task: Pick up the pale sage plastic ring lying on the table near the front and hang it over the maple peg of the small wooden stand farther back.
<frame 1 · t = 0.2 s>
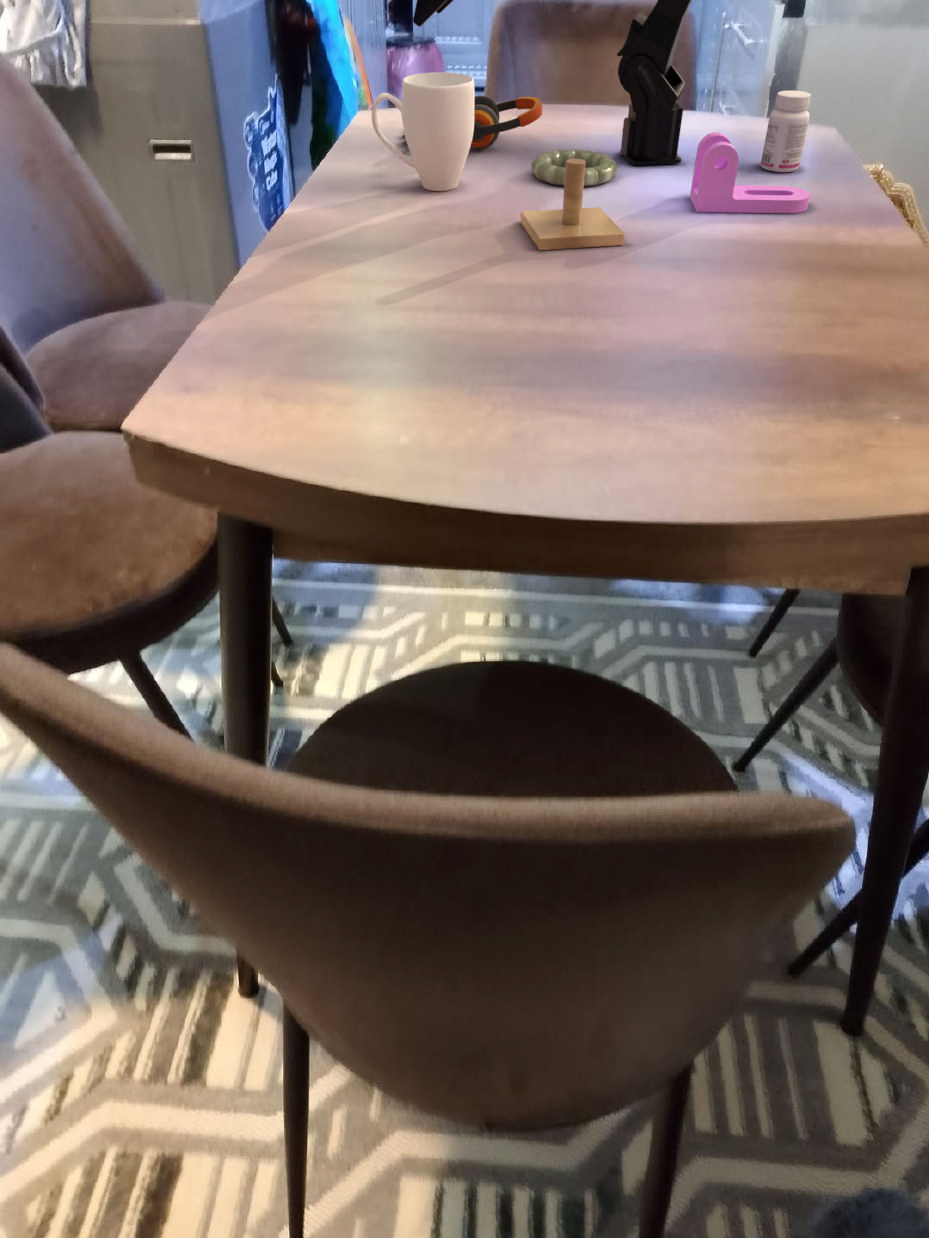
hand: (426, 17, 117), 15 cm above the table, tool tilted 30°, fingers open, 9 cm apart
mug: (425, 188, 111), on the table
pill bottle: (778, 169, 117), on the table
ring: (574, 167, 113), point 1 cm above the table
bracket: (749, 207, 105), on the table
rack: (570, 233, 98), on the table
headphones: (470, 145, 126), on the table
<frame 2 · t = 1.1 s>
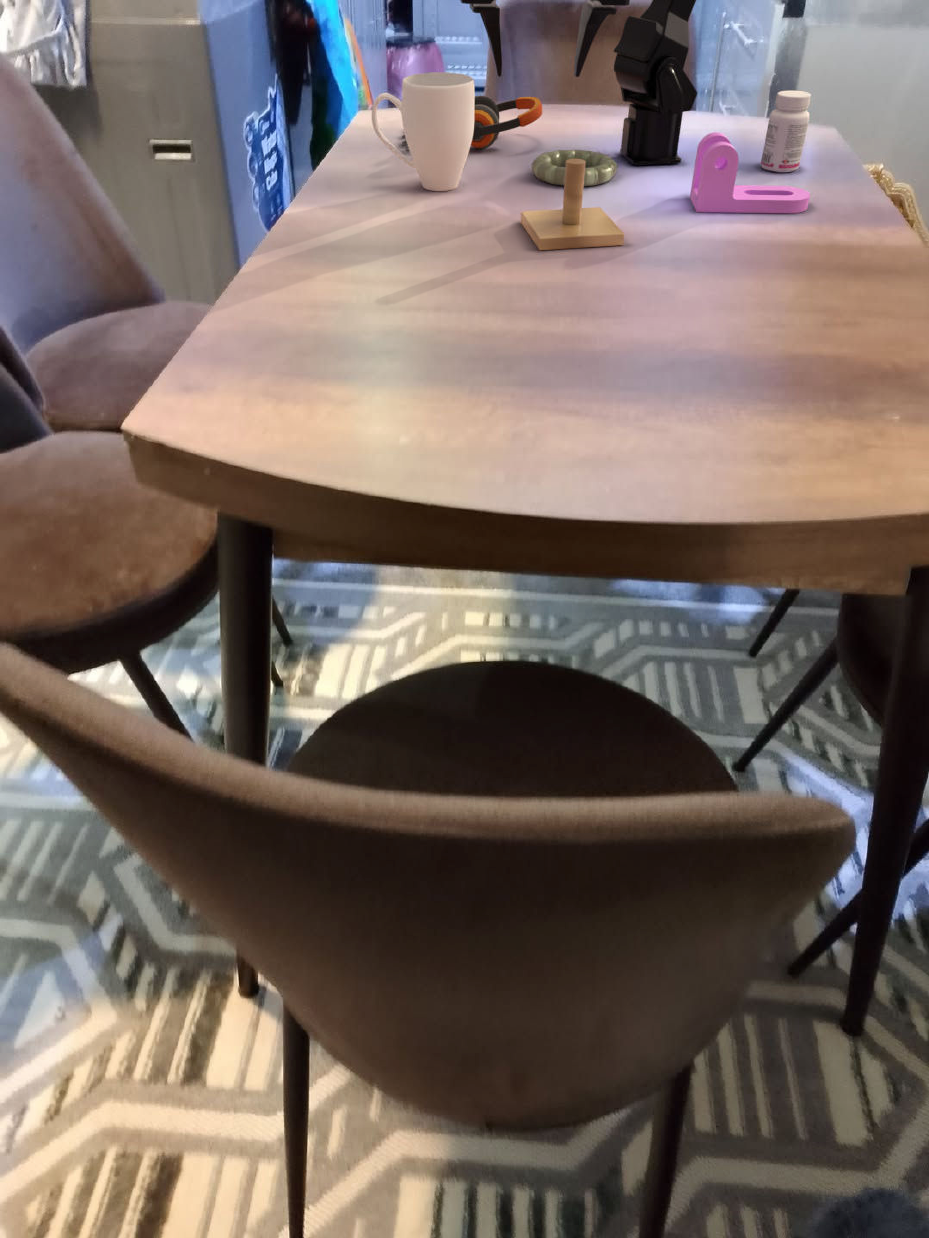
hand: (538, 76, 107), 11 cm above the table, tool pointing down, fingers open, 9 cm apart
nothing on the table moved.
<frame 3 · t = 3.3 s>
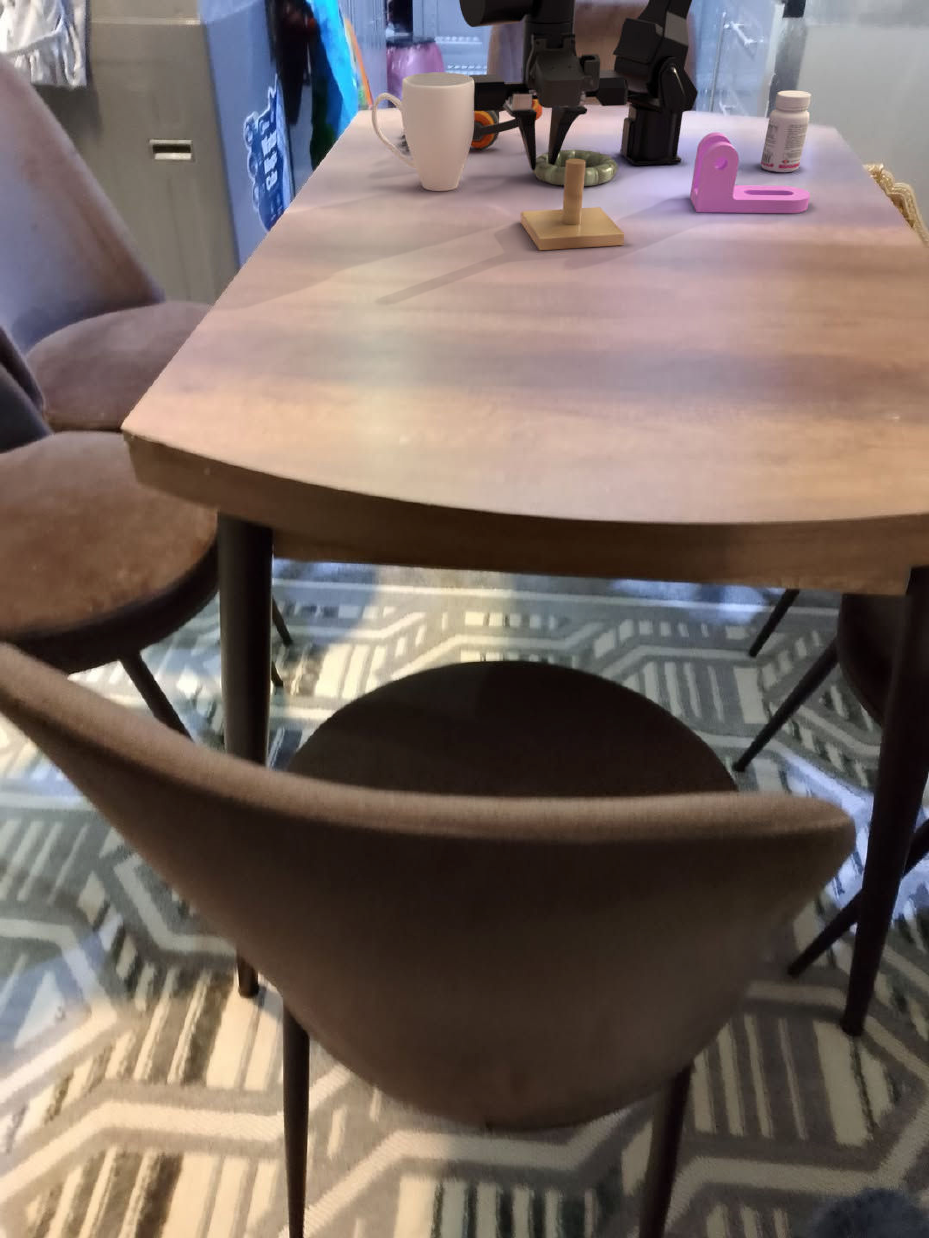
hand: (541, 169, 113), 1 cm above the table, tool pointing down, fingers closed on ring, 2 cm apart
ring: (574, 167, 113), point 1 cm above the table, touching gripper
everything else where it was.
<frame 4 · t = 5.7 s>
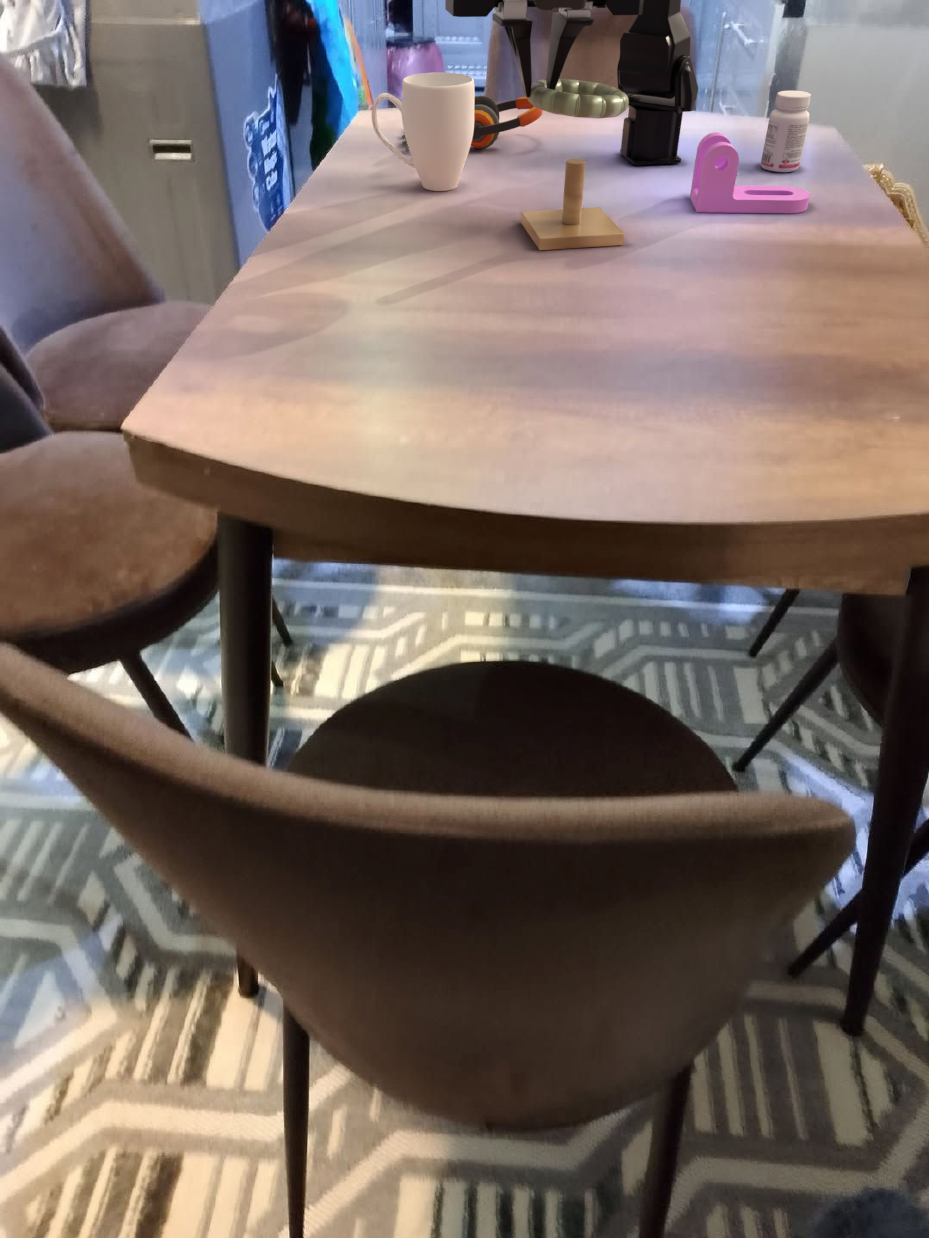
hand: (538, 96, 94), 12 cm above the table, tool pointing down, fingers closed on ring
ring: (577, 98, 95), point 12 cm above the table, touching gripper
everything else where it was.
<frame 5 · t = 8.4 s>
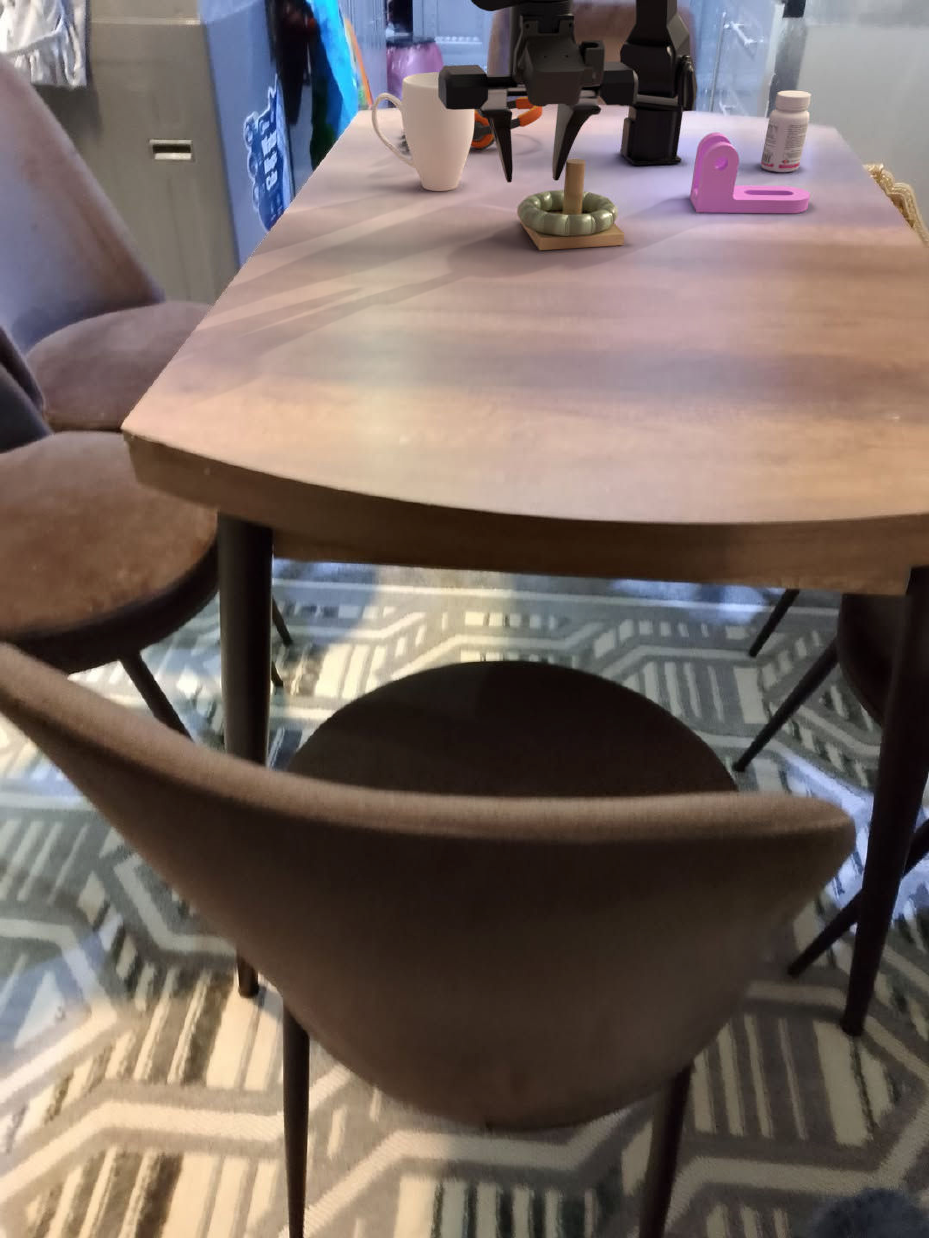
hand: (532, 180, 94), 6 cm above the table, tool pointing down, fingers open, 5 cm apart
ring: (567, 212, 96), point 2 cm above the table, touching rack
everything else where it was.
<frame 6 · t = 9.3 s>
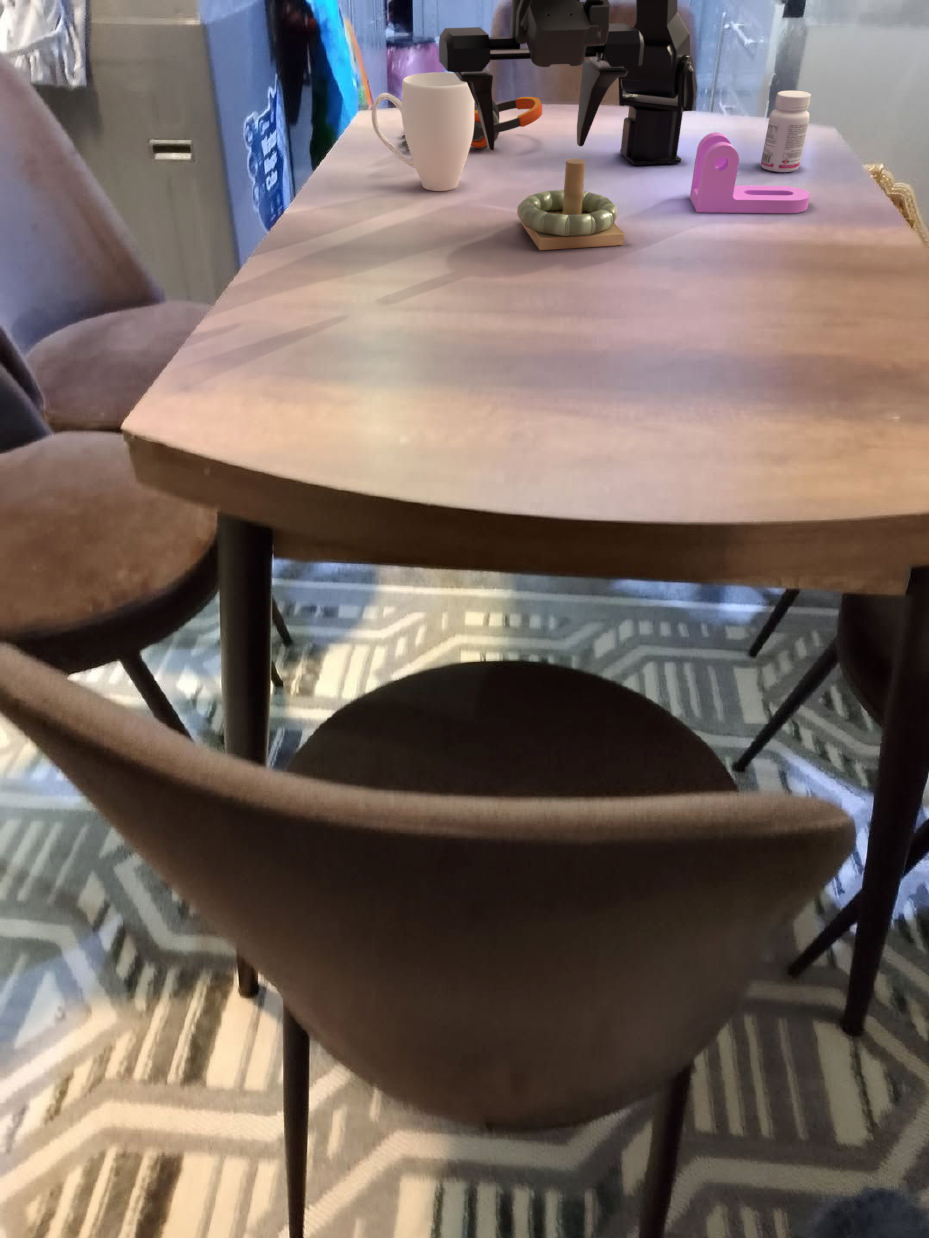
hand: (535, 147, 91), 9 cm above the table, tool pointing down, fingers open, 9 cm apart
nothing on the table moved.
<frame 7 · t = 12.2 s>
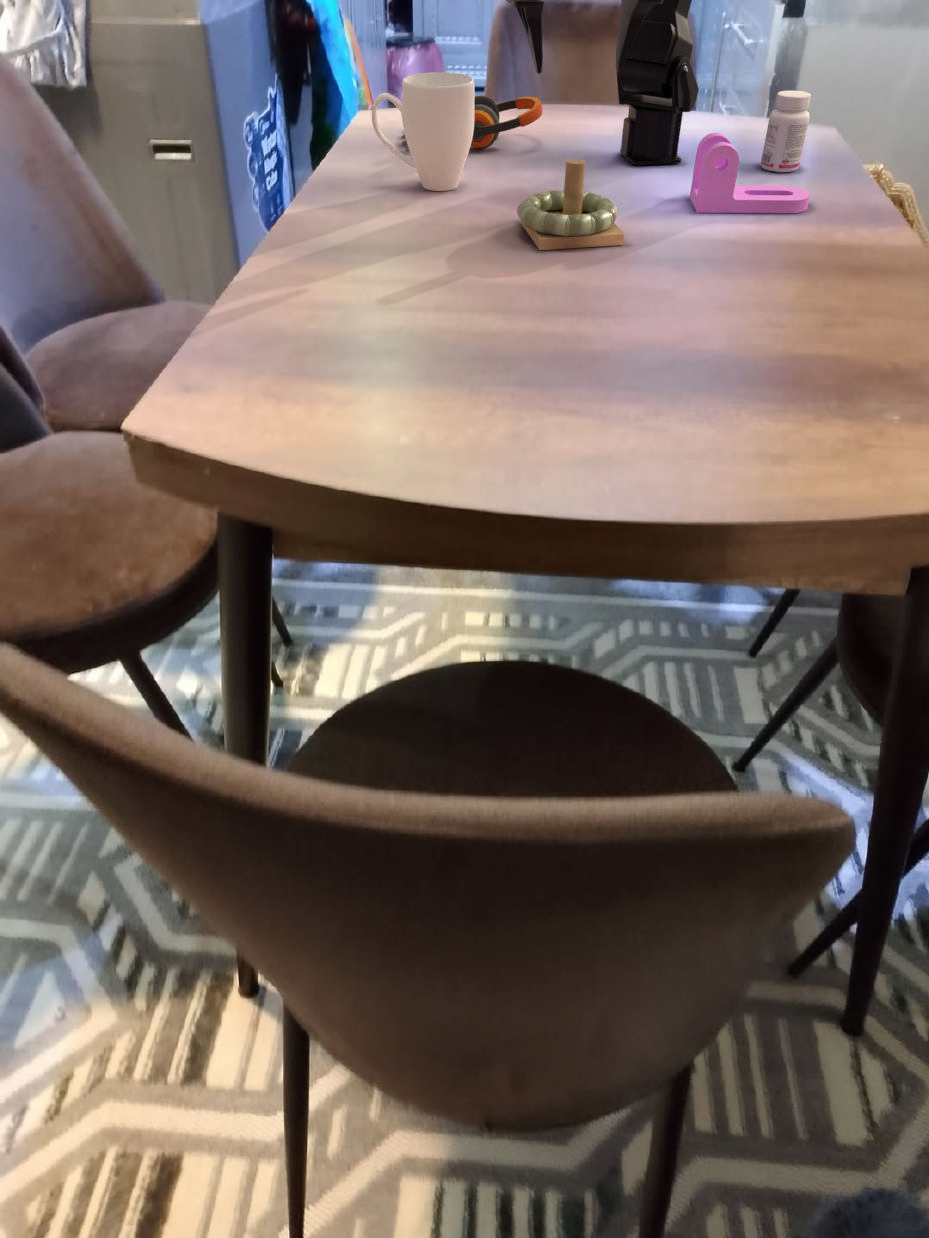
hand: (578, 71, 101), 13 cm above the table, tool pointing down, fingers open, 9 cm apart
nothing on the table moved.
at the end: ring 0.5 cm off-centre on the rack, point 2.2 cm above the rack's base; the gripper is holding nothing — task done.
